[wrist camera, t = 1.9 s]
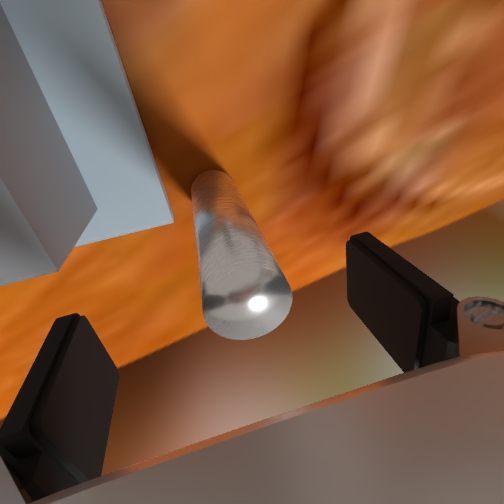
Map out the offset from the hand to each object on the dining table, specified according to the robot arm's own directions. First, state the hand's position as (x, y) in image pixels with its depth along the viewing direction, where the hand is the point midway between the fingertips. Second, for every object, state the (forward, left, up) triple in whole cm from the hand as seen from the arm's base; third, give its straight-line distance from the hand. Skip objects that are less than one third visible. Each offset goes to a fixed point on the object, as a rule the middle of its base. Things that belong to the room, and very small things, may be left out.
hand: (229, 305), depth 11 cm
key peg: (-1, 0, -11) cm, 11 cm away
